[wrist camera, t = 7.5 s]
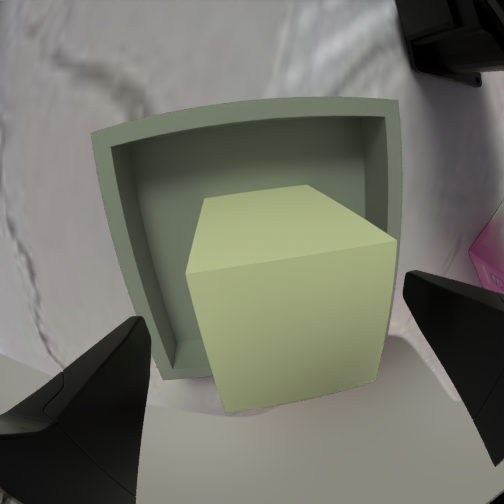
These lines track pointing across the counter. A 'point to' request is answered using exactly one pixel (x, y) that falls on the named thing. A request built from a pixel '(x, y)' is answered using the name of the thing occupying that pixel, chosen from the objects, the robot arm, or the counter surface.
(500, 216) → the gum box
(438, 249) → the counter surface
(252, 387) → the block
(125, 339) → the robot arm
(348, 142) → the bin
